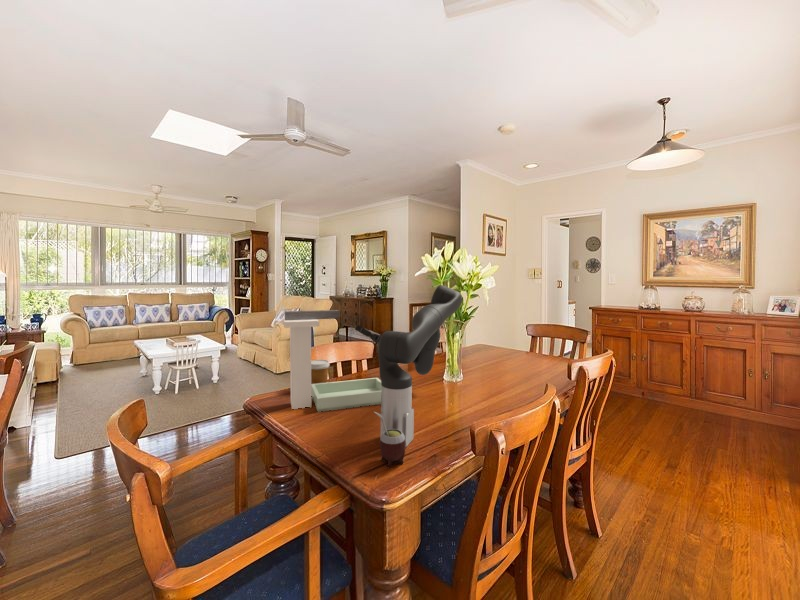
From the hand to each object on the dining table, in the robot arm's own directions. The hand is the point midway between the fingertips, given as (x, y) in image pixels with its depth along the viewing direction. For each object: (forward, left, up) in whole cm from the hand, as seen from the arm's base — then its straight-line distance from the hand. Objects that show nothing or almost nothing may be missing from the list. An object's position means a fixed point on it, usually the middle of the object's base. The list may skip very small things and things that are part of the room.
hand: (358, 328), depth 140 cm
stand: (+16, +16, -29) cm, 36 cm away
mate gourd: (-33, +38, -29) cm, 58 cm away
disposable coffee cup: (+21, -3, -29) cm, 36 cm away
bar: (+13, +13, +4) cm, 19 cm away
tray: (+2, +2, -29) cm, 29 cm away
